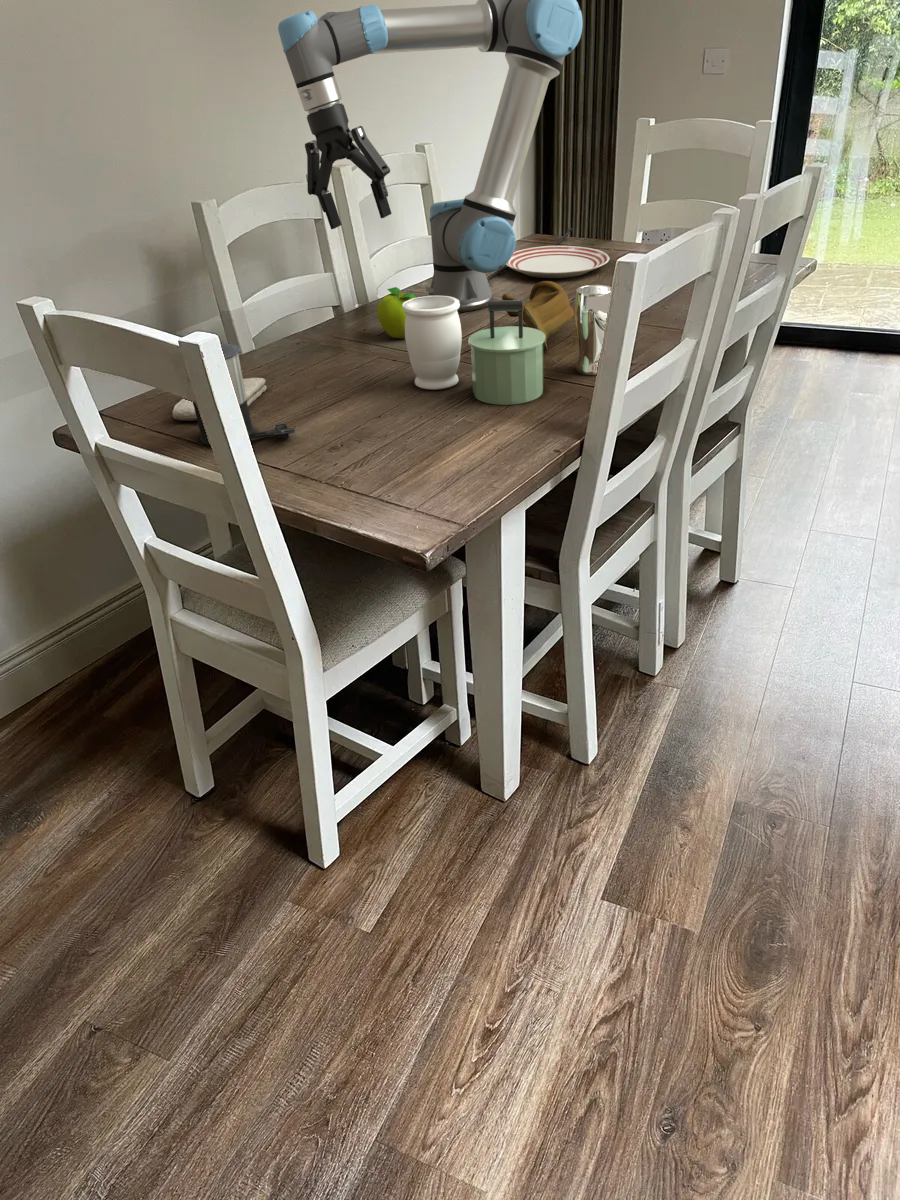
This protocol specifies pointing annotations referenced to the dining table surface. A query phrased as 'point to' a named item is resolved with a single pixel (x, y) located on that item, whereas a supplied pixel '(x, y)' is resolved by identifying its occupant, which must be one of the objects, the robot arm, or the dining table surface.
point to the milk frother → (242, 399)
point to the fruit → (393, 312)
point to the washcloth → (252, 391)
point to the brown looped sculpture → (545, 308)
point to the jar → (433, 340)
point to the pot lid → (506, 332)
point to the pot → (507, 376)
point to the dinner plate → (557, 261)
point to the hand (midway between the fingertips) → (360, 222)
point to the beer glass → (591, 325)
